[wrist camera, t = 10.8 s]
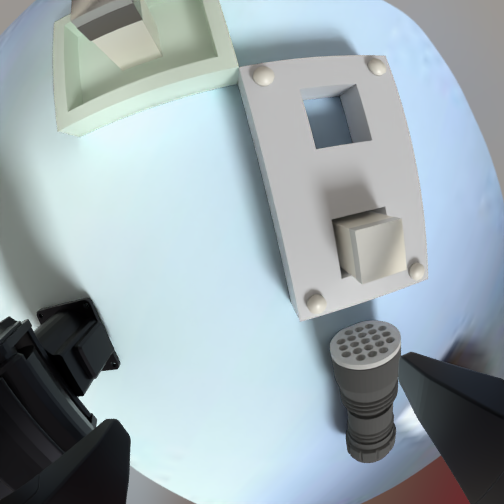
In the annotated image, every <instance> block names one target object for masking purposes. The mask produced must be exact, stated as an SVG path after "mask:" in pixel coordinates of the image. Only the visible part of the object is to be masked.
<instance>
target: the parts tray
mask: <svg viewBox="0 0 504 504" xmlns="http://www.w3.org/2000/svg"><path fill="white" fill-rule="evenodd" d="M144 1H145V3H146V5H147V7H148V9H149V11H150V13H151V15H152V17H153V19H154V21H155V23H156V25H157V29H158V35H159V40H160V46H161V51H162V57H160V58H157V59H154V60H151V61H148V62H145V63H143V64H140V65H137V66H134V67H132V68H129V69H127V70H124V71H122V70H121V69H120V68H119V67H118V66H117V65H116V64H115V63H114V62H113V61H112V60H111V59H110V58H109V57H108V56H107V55H106V54H105V53H104V52H103V51H102V50H101V49H100V48H99V47H98V46H97V45H96V44H95V43H94V42H93V41H90V40H89V39H88V38H87V37H85V36H84V35H83V34H82V33H81V32H80V31H79V30H78V29H77V27H76V26H75V25H74V24H73V23H72V22H71V13H70V14H69V15H67V16H65V17H63V18H62V19H60V20H58V21H56V22H55V23H54V31H53V86H54V101H55V113H56V122H57V131H58V132H61V133H65V134H68V135H72V136H76V137H81V136H84V135H86V134H88V133H90V132H92V131H94V130H97V129H99V128H101V127H103V126H106V125H108V124H110V123H113V122H115V121H118V120H120V119H123V118H125V117H128V116H130V115H133V114H136V113H138V112H141V111H144V110H146V109H149V108H152V107H155V106H158V105H161V104H164V103H167V102H170V101H174V100H177V99H180V98H184V97H187V96H190V95H194V94H198V93H201V92H205V91H209V90H213V89H217V88H221V87H226V86H230V85H235V84H238V73H239V65H238V62H237V58H236V55H235V51H234V48H233V44H232V41H231V38H230V34H229V31H228V28H227V25H226V21H225V18H224V15H223V12H222V9H221V5H220V2H219V0H144Z"/></svg>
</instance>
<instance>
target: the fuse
mask: <svg viewBox="0 0 504 504" xmlns="http://www.w3.org/2000/svg"><path fill="white" fill-rule="evenodd" d="M331 220H332V225H333V230H334V236H335V241H336V247H337V253H338V259H339V266H340V267H341V268H343V269H344V270H345V271H347V272H348V273H349V274H350V275H352V276H353V277H354V278H355V279H356V280H357V281H358V282H359V283H361V284H362V285H363V284H366V283H369V282H372V281H375V280H378V279H381V278H384V277H387V276H390V275H393V274H396V273H399V272H402V271H405V270H407V265H406V252H405V240H404V231H403V222H402V218H398V217H392V216H388V215H383V214H379V213H375V212H370V211H364V212H360V213H356V214H352V215H348V216H344V217H340V218H336V219H331Z"/></svg>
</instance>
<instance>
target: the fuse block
mask: <svg viewBox="0 0 504 504" xmlns="http://www.w3.org/2000/svg"><path fill="white" fill-rule="evenodd" d="M238 86H239V90H240V94H241V97H242V101H243V105H244V108H245V112H246V116H247V120H248V123H249V127H250V131H251V135H252V139H253V143H254V147H255V150H256V154H257V158H258V162H259V166H260V170H261V174H262V178H263V182H264V186H265V191H266V195H267V199H268V203H269V207H270V211H271V215H272V220H273V224H274V228H275V232H276V237H277V241H278V245H279V250H280V254H281V259H282V263H283V268H284V272H285V277H286V281H287V286H288V290H289V295H290V299H291V304H292V306H293V308H294V310H295V312H296V314H297V316H298V318H299V320H300V322H301V321H305V320H308V319H312V318H315V317H318V316H322V315H325V314H328V313H332V312H335V311H338V310H341V309H344V308H348V307H351V306H354V305H357V304H360V303H363V302H366V301H369V300H372V299H375V298H378V297H381V296H383V295H386V294H389V293H392V292H395V291H397V290H400V289H403V288H405V287H408V286H411V285H413V284H416V283H419V282H421V281H424V280H426V279H428V260H427V243H426V231H425V220H424V211H423V203H422V196H421V189H420V183H419V177H418V171H417V166H416V160H415V155H414V151H413V146H412V142H411V137H410V133H409V129H408V125H407V121H406V117H405V114H404V110H403V107H402V103H401V100H400V96H399V93H398V90H397V87H396V84H395V81H394V78H393V75H392V72H391V69H390V67H389V64H388V61H387V59H386V56H376V55H343V56H321V57H308V58H297V59H288V60H280V61H273V62H266V63H260V64H254V65H248V66H243V67H239V73H238ZM337 96H340V99H341V102H342V105H343V109H344V112H345V116H346V120H347V123H348V127H349V131H350V135H351V139H352V143H351V144H344V145H338V146H332V147H326V148H320V149H316V147H315V143H314V139H313V135H312V131H311V128H310V124H309V120H308V117H307V113H306V110H305V106H304V103H303V100H311V99H318V98H327V97H337ZM364 211H370V212H375V213H379V214H383V215H388V216H392V217H398V218H402V222H403V231H404V240H405V252H406V265H407V270H405V271H402V272H399V273H396V274H393V275H390V276H387V277H384V278H381V279H378V280H375V281H372V282H369V283H366V284H363V285H362V284H361V283H359V282H358V281H357V280H356V279H355V278H354V277H353V276H352V275H350V274H349V273H348V272H347V271H345V270H344V269H343V268H341V267H340V266H339V259H338V253H337V247H336V241H335V236H334V230H333V225H332V220H331V219H336V218H340V217H344V216H348V215H352V214H356V213H360V212H364Z"/></svg>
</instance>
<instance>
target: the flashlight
mask: <svg viewBox="0 0 504 504" xmlns="http://www.w3.org/2000/svg"><path fill="white" fill-rule="evenodd" d="M330 352H331V357H332V363H333V369H334V374H335V379H336V381H337V383H338V385H339V387H340V394H341V400H342V403H343V405H344V406H345V407H346V408H347V412H348V421H347V425H348V430H347V432H346V444H347V450H348V453H349V454H351V456H352V457H353V458H354V459H355V460H357V461H359V462H362V463H372V462H376V461H379V460H381V459H382V458H384V457H385V456H386V455H387V454H388V453H389V451H390V450H391V449H392V448H393V446H394V443H395V435H396V427H395V424H394V414H393V401H394V400H395V398H396V396H397V393H398V368H399V358H400V357H401V335H400V332H399V330H398V329H397V328H396V327H395V326H393V325H392V324H390V323H387V322H383V321H377V320H370V321H362V322H360V323H357V324H355V325H352V326H349V327H347V328H344V329H342V330H340V331H339V332H338V333H337V334H336V335H335V336H334V337H333V339H332V340H331V343H330Z"/></svg>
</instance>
